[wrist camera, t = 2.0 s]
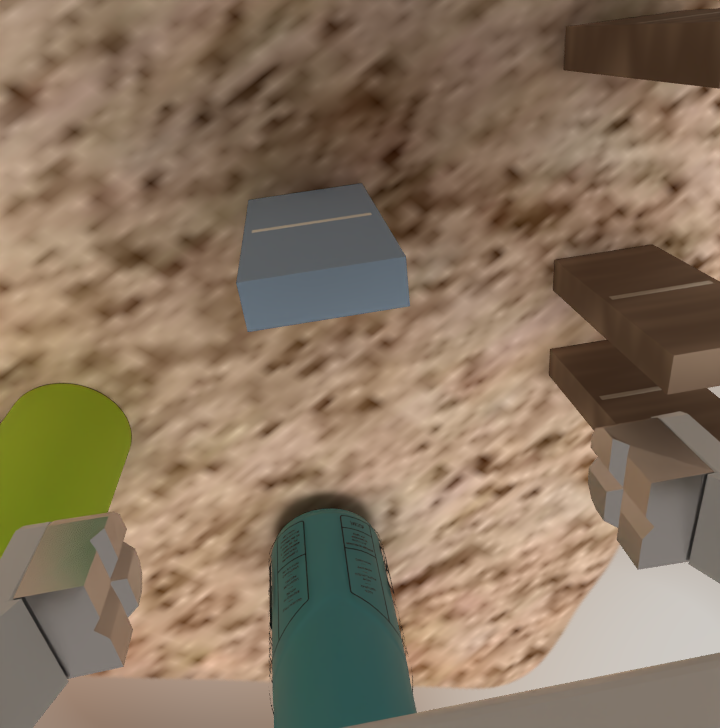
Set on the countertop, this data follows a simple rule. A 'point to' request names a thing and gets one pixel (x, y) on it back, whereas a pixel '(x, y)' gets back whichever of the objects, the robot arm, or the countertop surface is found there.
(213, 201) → the countertop surface
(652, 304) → the domino
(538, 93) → the countertop surface
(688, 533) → the robot arm
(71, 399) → the soap dispenser
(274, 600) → the beverage bottle
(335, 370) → the countertop surface
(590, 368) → the domino
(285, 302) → the domino
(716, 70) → the domino
